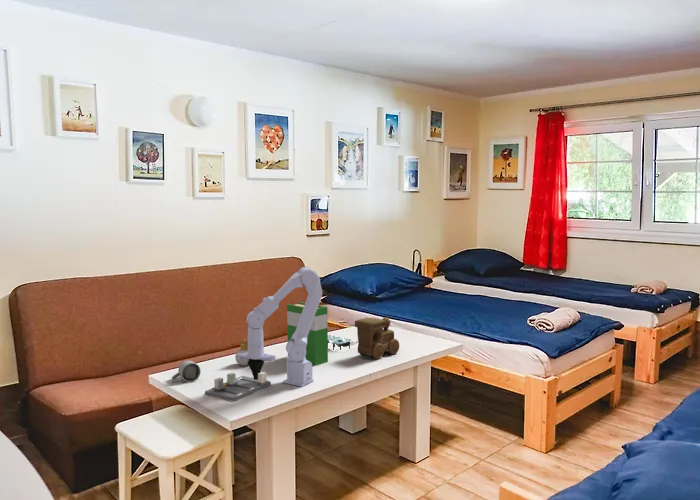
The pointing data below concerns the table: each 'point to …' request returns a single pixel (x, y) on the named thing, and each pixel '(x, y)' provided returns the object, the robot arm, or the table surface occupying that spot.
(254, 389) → the panel
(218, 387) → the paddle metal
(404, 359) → the table surface
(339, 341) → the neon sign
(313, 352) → the hardback book
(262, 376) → the paddle cream
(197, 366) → the ceramic mug
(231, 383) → the pale mint cube
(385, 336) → the wooden toy train
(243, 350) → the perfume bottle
